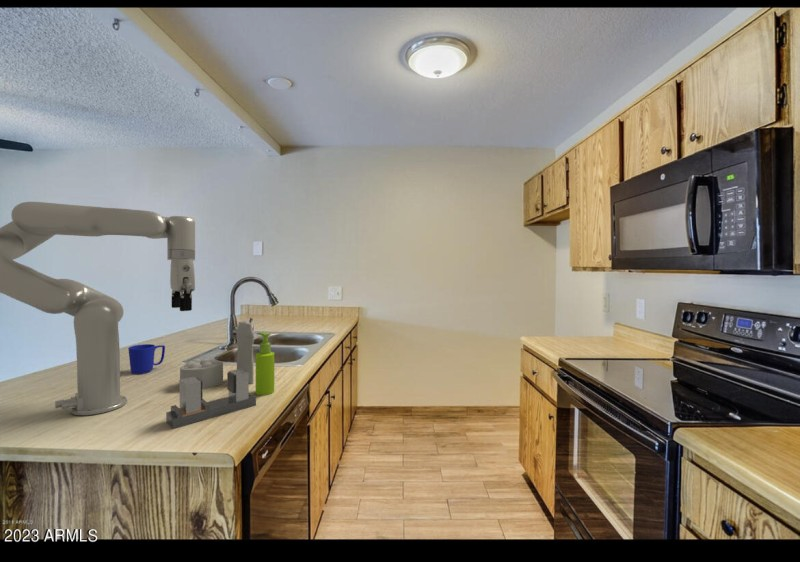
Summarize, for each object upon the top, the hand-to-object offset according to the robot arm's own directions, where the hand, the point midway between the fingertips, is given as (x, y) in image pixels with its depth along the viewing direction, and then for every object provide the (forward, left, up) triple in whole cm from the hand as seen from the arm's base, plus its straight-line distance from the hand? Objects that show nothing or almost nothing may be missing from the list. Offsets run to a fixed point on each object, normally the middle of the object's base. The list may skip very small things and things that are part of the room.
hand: (181, 309), depth 113 cm
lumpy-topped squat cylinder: (+8, +6, -28) cm, 30 cm away
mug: (-2, +37, -28) cm, 46 cm away
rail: (+2, -21, -28) cm, 35 cm away
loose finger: (-4, -21, -25) cm, 33 cm away
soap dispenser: (+20, -15, -28) cm, 38 cm away
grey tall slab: (+20, 0, -28) cm, 35 cm away
